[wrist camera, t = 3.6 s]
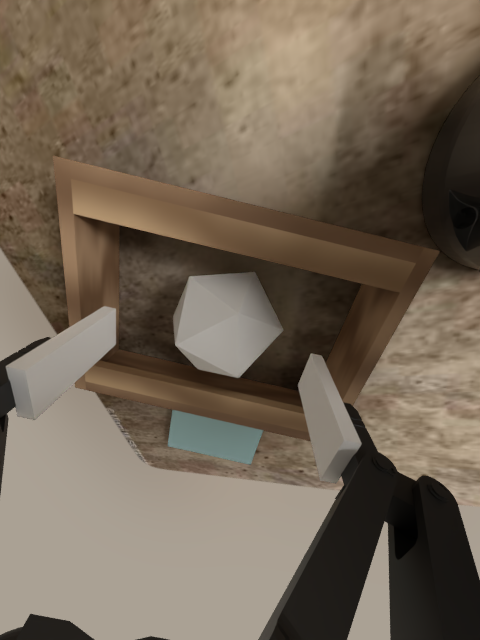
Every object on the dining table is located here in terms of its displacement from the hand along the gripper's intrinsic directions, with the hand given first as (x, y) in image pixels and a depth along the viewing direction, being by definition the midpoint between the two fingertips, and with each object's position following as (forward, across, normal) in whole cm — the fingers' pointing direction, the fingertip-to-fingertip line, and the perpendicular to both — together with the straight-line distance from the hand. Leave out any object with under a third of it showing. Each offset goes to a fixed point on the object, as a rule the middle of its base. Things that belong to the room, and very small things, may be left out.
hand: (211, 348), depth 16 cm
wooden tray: (+8, 0, 0) cm, 8 cm away
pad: (+8, +2, -15) cm, 17 cm away
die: (+8, 0, 0) cm, 8 cm away
